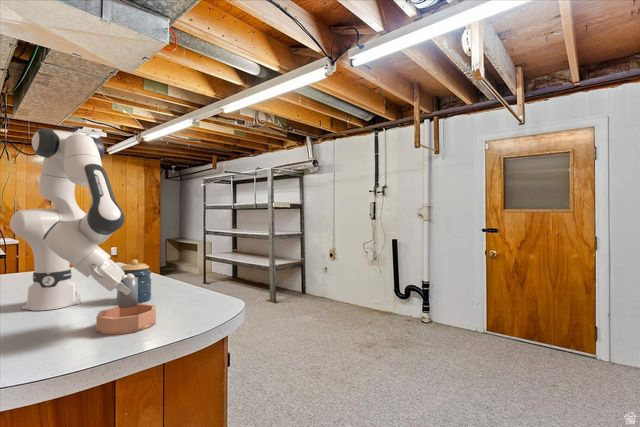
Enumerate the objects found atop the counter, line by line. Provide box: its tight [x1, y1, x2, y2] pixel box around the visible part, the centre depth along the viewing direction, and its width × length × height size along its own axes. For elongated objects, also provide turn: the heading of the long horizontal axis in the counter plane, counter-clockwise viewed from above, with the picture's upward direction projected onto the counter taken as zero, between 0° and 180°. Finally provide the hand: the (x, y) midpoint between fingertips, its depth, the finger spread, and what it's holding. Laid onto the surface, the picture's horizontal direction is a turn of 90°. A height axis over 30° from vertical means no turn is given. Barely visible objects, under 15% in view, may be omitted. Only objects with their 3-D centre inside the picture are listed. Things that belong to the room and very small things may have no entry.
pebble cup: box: [117, 273, 139, 308], centre depth 109 cm, size 6×6×10 cm
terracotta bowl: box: [95, 303, 157, 336], centre depth 109 cm, size 16×16×5 cm
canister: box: [116, 259, 153, 304], centre depth 141 cm, size 13×13×18 cm
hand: (130, 290), depth 109 cm, fingers closed on pebble cup, 5 cm apart
